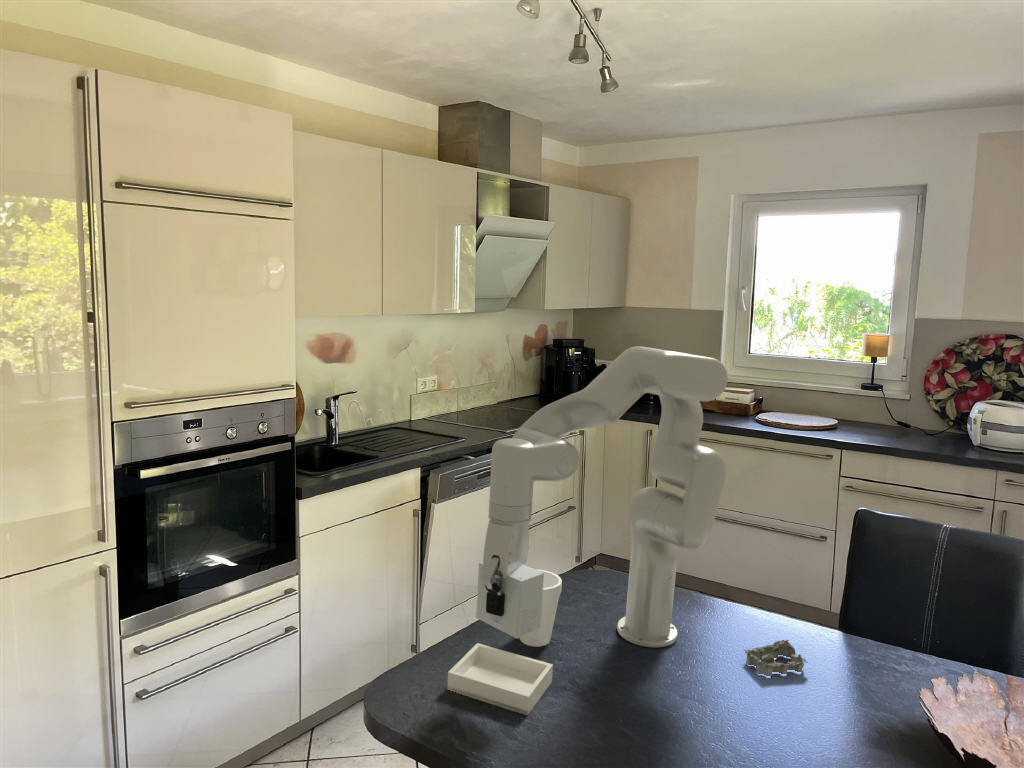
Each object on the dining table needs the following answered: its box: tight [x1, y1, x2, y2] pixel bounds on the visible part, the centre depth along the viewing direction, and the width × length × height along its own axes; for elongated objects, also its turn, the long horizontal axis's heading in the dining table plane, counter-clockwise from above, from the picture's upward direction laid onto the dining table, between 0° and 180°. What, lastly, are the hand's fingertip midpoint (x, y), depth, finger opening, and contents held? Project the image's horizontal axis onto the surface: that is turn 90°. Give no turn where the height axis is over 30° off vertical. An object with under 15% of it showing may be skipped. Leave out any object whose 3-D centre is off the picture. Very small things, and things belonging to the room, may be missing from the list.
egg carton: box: [743, 639, 809, 677], centre depth 145 cm, size 11×8×4 cm
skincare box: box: [475, 561, 544, 640], centre depth 130 cm, size 10×6×10 cm, turn 47°
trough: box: [447, 642, 554, 716], centre depth 134 cm, size 12×16×4 cm
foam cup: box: [519, 569, 563, 648], centre depth 151 cm, size 10×9×13 cm
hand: (504, 603), depth 131 cm, fingers closed on skincare box, 7 cm apart
